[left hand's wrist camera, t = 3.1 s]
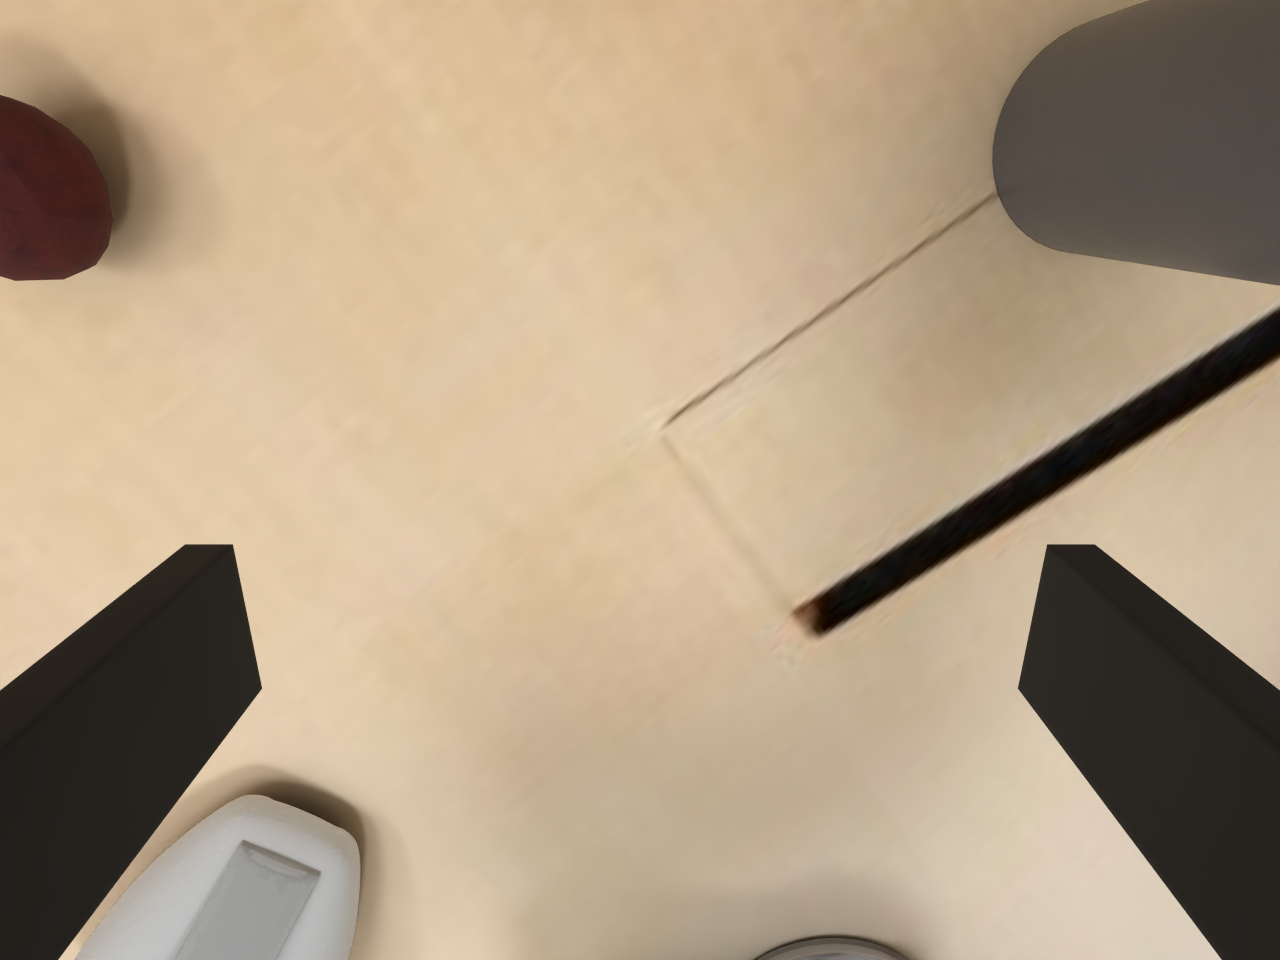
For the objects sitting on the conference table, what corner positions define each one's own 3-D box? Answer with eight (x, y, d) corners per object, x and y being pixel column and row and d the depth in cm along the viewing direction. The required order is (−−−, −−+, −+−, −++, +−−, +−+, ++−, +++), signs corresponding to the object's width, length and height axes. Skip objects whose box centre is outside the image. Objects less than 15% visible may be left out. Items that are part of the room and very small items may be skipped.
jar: (1221, -9, 34) (1941, -249, 15) (1208, 230, 37) (1781, 274, 19) (987, 43, 35) (1398, -126, 16) (996, 272, 38) (1341, 356, 19)
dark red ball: (55, 66, 35) (-81, 39, 28) (182, 219, 37) (83, 226, 30) (-53, 165, 36) (-207, 161, 30) (75, 306, 38) (-42, 331, 32)
